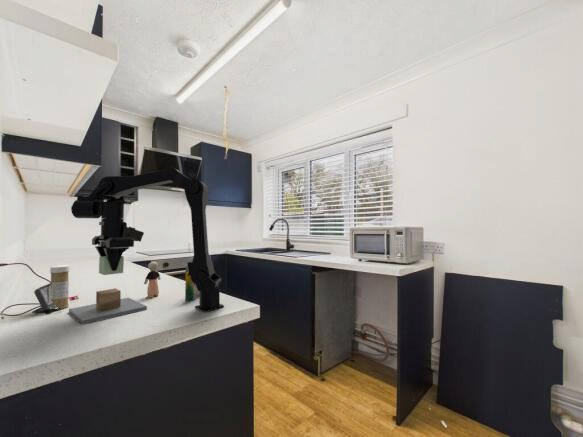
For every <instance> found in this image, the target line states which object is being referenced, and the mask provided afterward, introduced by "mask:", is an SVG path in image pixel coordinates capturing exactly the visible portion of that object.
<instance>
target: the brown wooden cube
mask: <svg viewBox="0 0 583 437" xmlns="http://www.w3.org/2000/svg"><path fill="white" fill-rule="evenodd" d="M121 292H122V291H121V290H120V289H118V288H116V287H115V288H109V289H108V288H107V289H103V290H97V291H96V293H95V294H96V295H95V298H96V299H95V300H96V301H95V304H96V308H97V309H98V310H100V311H104V310H109V309H114V308H119V307H120V302H121V299H122V298H121V297H122V296H121Z"/></svg>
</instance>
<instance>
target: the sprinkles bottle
mask: <svg viewBox="0 0 583 437" xmlns="http://www.w3.org/2000/svg"><path fill="white" fill-rule="evenodd" d="M49 268H50V269H49V272H50V290H49V293H50V294H49V298H50V302H51V301H52V302H53V303H54V304H55V305H56V306H57V307H58V308H60V309H59V310H62V309H66V308H68V307H69V294H70V293H69V292H70V291H69V289H70V288H69V287H70V285H69V284H70V282H69V272H70V265H68V264H60V265H52V266H50V267H49Z"/></svg>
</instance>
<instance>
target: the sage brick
mask: <svg viewBox="0 0 583 437" xmlns="http://www.w3.org/2000/svg"><path fill="white" fill-rule="evenodd" d="M124 257H125V256H123V255H122V256H121V259H120V261H119V264H118V267H117V270H116V271H112V269H111V267H110V264H109V262H108V259H107V256H101V257H100V256H99V257H98V258H99V261H98V263H99V264H98V274H100V275H103V276H108V275H117V274H124V262H125V261H124V260H125V258H124Z"/></svg>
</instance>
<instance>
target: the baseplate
mask: <svg viewBox="0 0 583 437" xmlns="http://www.w3.org/2000/svg"><path fill="white" fill-rule="evenodd" d="M147 309H148V306H147V305H145V304H143V303H140V302H139V301H136V300H134V299H132V298H130V297H125V298H121V302H120V307H119V308H114V309H109V310H104V311H100V310H98V309H97V308H96V303H93V304H89V305H83V306H77V307H73V308H68V313H69V314H70V315H71V316H73V318H74V319H76V320H77V321H78V322H79V324H81V325H85V324H89V323H96V322H99V321H102V320H103V321H104V320H107V319H112V318H115V317H121V316H124V315H129V314H133V313H137V312H143V311H146V310H147Z"/></svg>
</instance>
